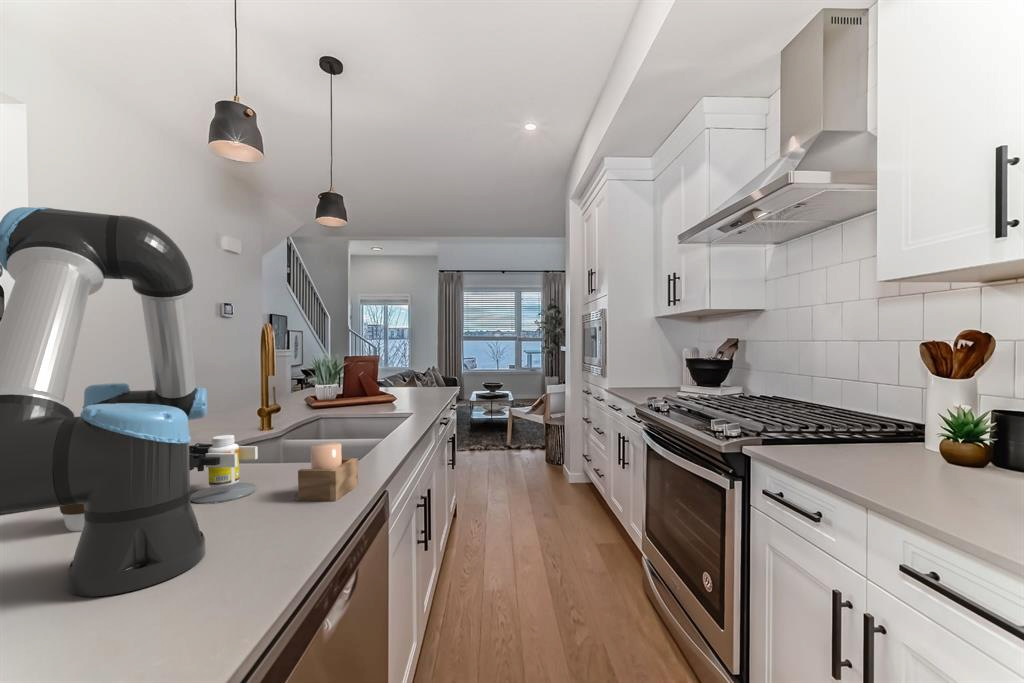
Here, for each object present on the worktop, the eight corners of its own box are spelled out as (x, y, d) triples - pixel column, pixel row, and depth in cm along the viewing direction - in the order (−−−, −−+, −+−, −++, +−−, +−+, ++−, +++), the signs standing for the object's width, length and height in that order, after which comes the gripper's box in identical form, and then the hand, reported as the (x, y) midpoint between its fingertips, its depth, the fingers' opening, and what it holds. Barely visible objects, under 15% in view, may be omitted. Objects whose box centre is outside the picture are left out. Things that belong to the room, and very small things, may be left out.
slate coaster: (230, 504, 90) (230, 501, 90) (174, 503, 91) (174, 500, 91) (268, 485, 102) (268, 482, 102) (219, 484, 103) (219, 482, 103)
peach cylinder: (333, 497, 93) (332, 448, 93) (305, 497, 93) (305, 448, 93) (347, 488, 99) (346, 442, 99) (321, 487, 99) (320, 442, 99)
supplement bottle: (229, 479, 100) (229, 433, 100) (245, 482, 98) (244, 435, 98) (202, 486, 95) (202, 438, 95) (218, 490, 93) (217, 440, 93)
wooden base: (336, 500, 91) (335, 471, 91) (293, 500, 92) (293, 470, 92) (358, 485, 101) (357, 458, 101) (319, 484, 101) (319, 457, 101)
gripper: (183, 461, 108) (274, 462, 105) (105, 486, 89) (213, 488, 87) (182, 429, 108) (273, 430, 105) (104, 448, 89) (212, 449, 87)
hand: (246, 456), depth 96 cm, fingers closed on supplement bottle, 5 cm apart
